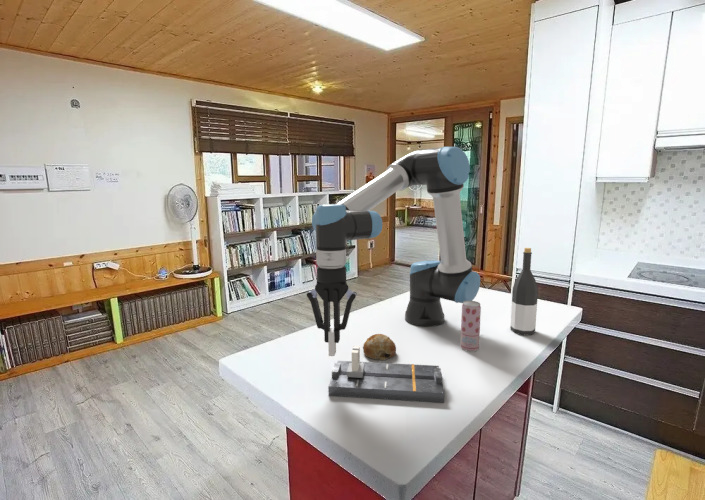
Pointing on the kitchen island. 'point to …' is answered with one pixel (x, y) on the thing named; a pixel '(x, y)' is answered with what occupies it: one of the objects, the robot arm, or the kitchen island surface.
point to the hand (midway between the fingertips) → (332, 353)
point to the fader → (355, 364)
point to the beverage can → (470, 326)
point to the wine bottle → (524, 299)
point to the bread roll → (379, 347)
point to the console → (389, 382)
